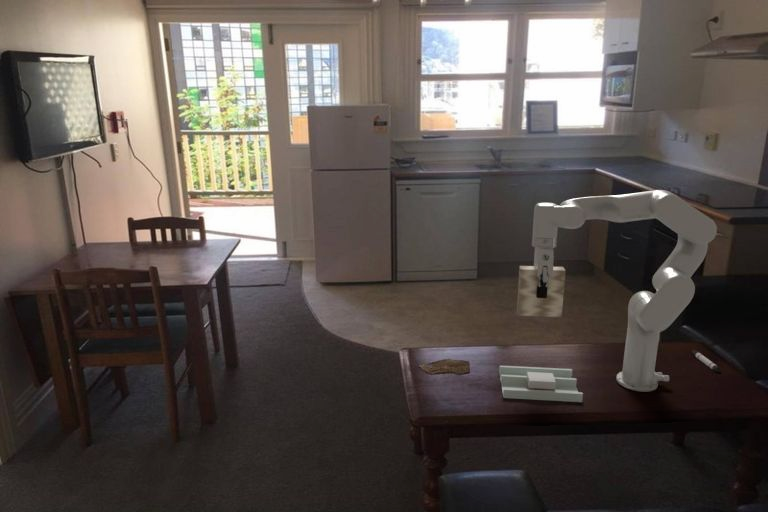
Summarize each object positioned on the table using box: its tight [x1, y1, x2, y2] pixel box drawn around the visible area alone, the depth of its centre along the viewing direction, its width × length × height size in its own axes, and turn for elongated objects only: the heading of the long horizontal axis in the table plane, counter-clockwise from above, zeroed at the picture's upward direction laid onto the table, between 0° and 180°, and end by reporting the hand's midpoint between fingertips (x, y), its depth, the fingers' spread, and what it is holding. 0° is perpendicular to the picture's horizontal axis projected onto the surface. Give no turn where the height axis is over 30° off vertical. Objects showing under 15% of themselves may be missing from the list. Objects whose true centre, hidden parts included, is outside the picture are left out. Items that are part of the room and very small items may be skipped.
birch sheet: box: [516, 265, 567, 318], centre depth 181 cm, size 14×4×16 cm, turn 83°
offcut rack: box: [498, 365, 584, 403], centre depth 180 cm, size 24×18×4 cm
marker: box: [691, 349, 721, 373], centre depth 198 cm, size 15×2×2 cm, turn 3°
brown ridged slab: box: [418, 358, 471, 375], centre depth 196 cm, size 26×11×1 cm, turn 90°
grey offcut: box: [527, 372, 556, 389], centre depth 176 cm, size 8×6×2 cm
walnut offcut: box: [526, 381, 555, 391], centre depth 177 cm, size 8×6×2 cm
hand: (540, 294), depth 182 cm, fingers closed on birch sheet, 4 cm apart
